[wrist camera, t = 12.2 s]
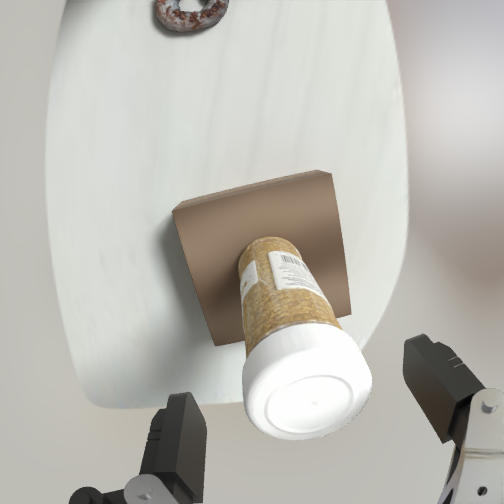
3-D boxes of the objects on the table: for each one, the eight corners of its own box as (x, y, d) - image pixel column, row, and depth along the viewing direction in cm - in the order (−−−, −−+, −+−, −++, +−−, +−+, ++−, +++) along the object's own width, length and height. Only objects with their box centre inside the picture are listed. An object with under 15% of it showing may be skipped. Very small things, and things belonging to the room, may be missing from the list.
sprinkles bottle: (224, 261, 22) (214, 402, 9) (277, 221, 21) (338, 325, 9) (264, 307, 23) (292, 458, 11) (315, 270, 23) (393, 401, 10)
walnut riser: (181, 201, 25) (171, 211, 21) (317, 169, 24) (331, 173, 21) (217, 321, 28) (215, 346, 24) (337, 293, 28) (351, 314, 24)
